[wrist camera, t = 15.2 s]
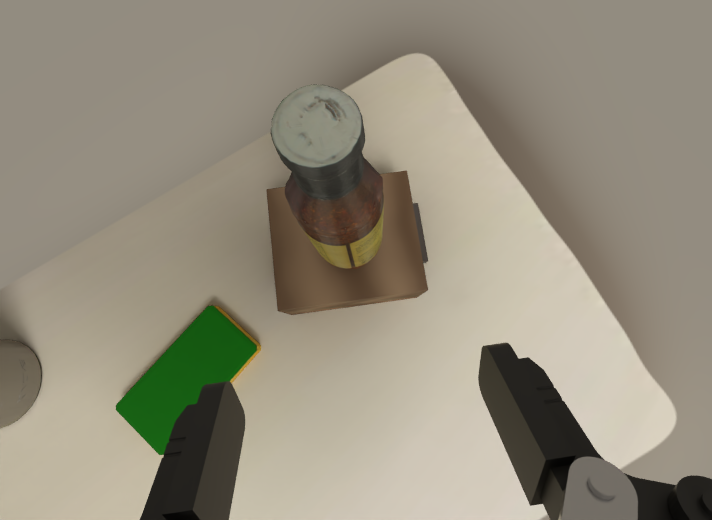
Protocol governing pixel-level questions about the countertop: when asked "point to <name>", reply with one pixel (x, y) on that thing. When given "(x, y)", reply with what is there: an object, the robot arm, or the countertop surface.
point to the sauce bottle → (330, 174)
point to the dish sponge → (186, 374)
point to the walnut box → (340, 285)
